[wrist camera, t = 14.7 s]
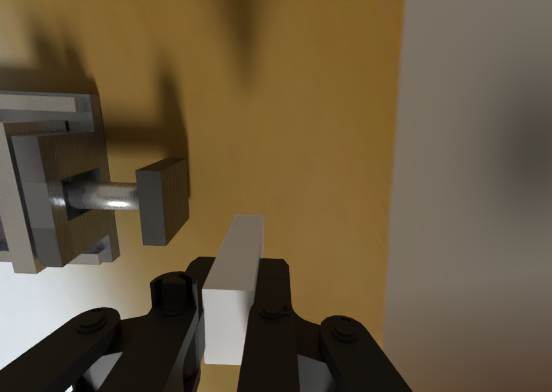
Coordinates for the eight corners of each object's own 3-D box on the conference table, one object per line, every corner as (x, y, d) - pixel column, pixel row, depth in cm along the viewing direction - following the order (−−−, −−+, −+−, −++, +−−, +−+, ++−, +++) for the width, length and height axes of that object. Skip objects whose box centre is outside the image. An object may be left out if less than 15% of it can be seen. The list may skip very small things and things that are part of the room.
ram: (45, 120, 21) (-25, 121, 16) (184, 125, 21) (156, 129, 16) (67, 240, 24) (13, 273, 19) (190, 245, 24) (168, 279, 19)
